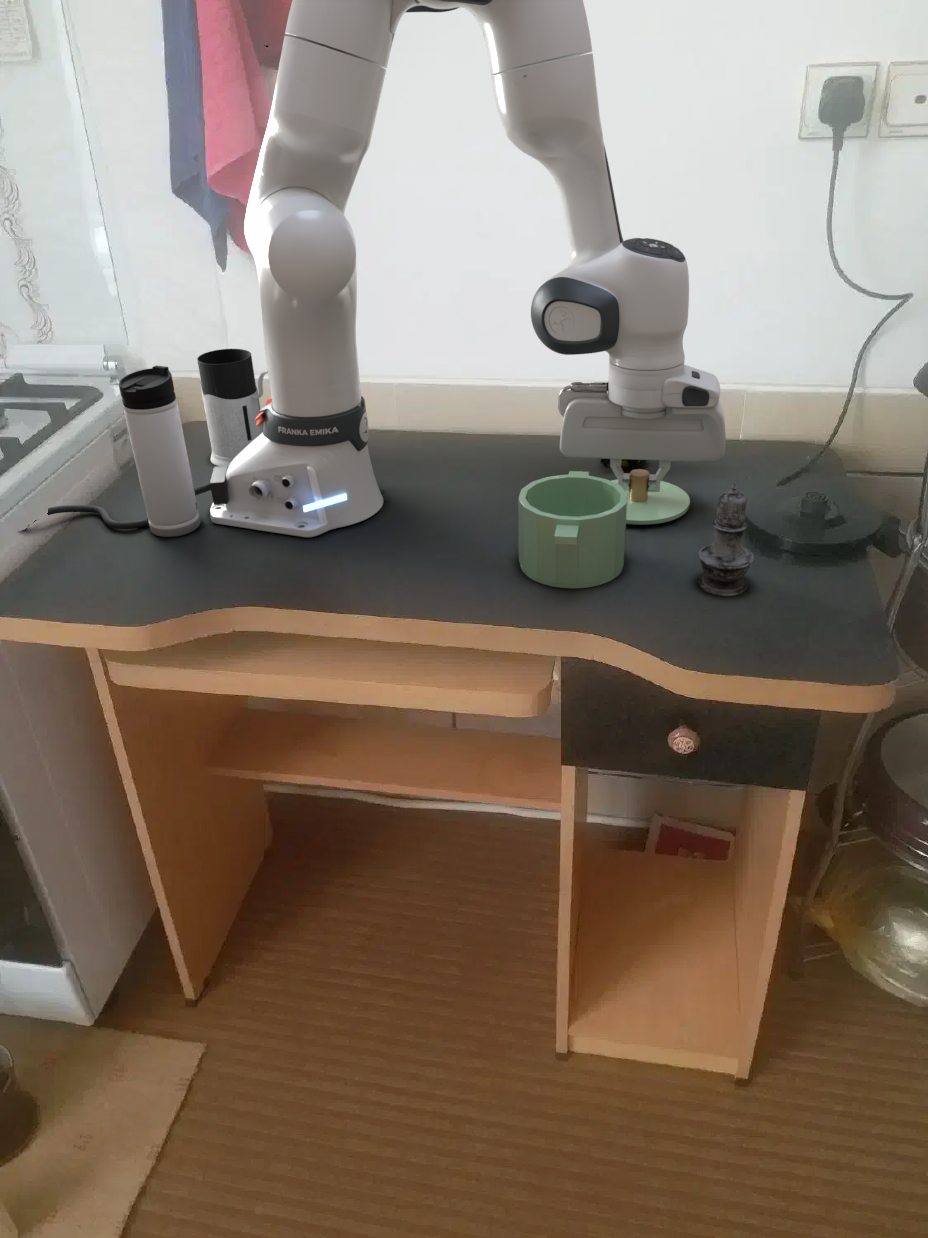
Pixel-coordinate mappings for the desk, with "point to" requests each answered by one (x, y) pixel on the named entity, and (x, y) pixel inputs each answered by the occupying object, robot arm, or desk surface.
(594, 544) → the pot
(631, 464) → the tape measure
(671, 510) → the pot lid
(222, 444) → the tall handled mug
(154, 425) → the travel mug
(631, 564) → the desk surface
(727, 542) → the salt shaker
